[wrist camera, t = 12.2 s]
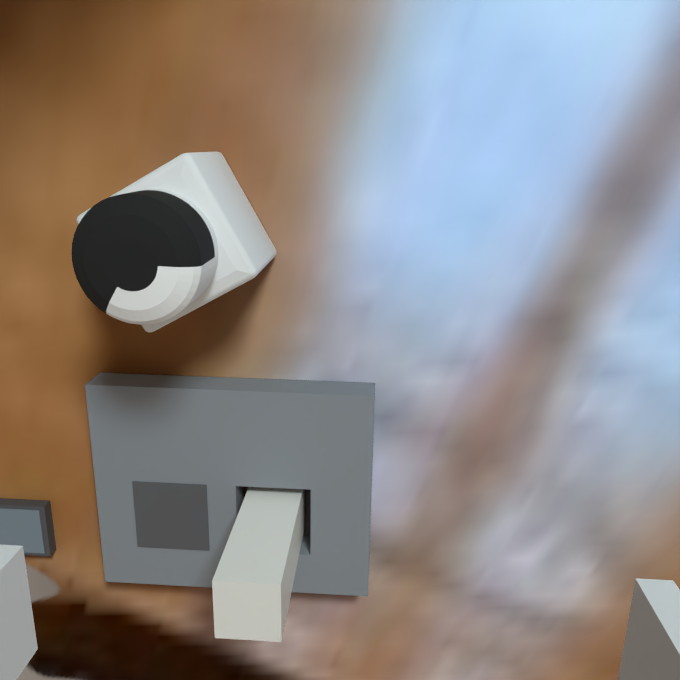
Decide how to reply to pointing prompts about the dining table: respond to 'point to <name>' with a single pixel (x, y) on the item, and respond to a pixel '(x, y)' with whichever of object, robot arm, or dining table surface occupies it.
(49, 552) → the phone
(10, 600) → the robot arm
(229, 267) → the container
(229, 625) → the light grey rectangular block
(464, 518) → the dining table surface
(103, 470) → the outlet plate
